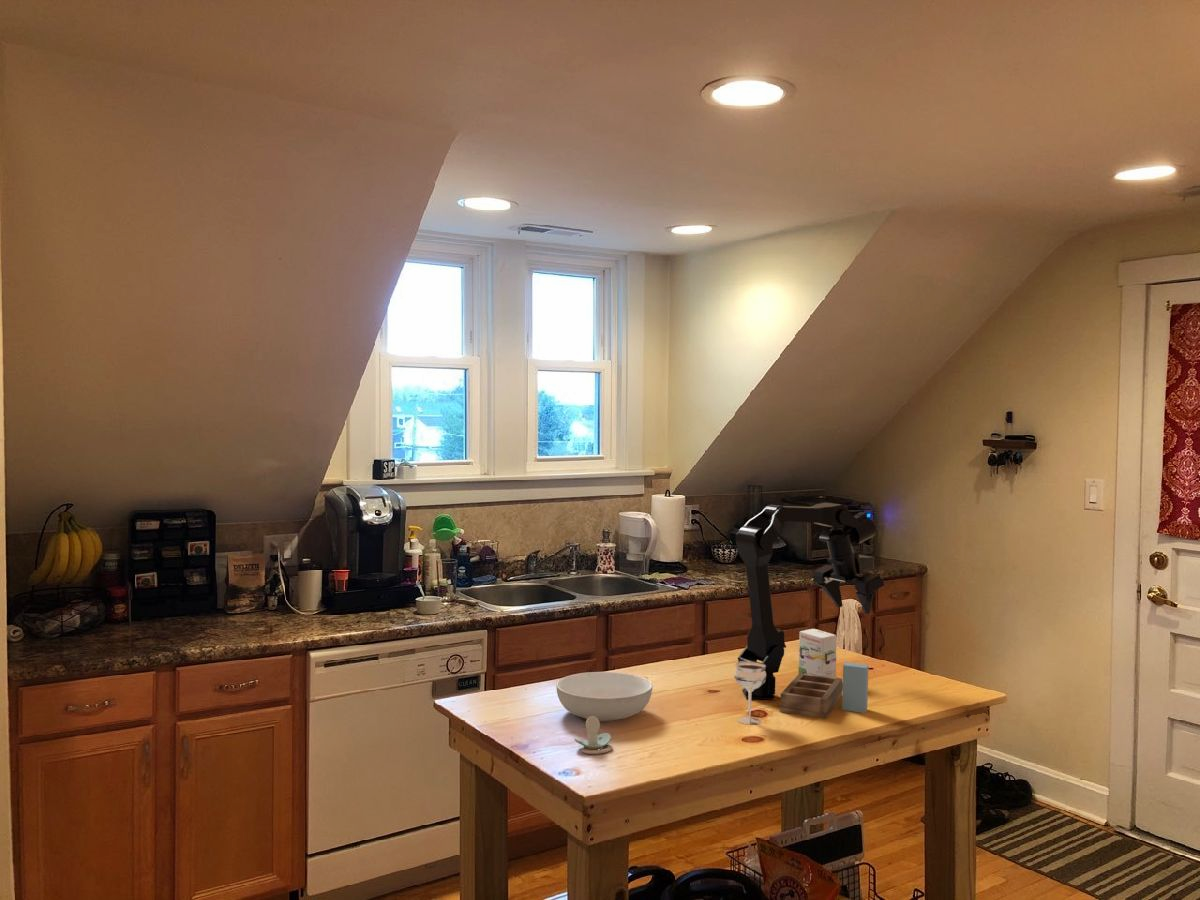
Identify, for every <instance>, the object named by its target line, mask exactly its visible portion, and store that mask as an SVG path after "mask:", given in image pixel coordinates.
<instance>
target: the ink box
mask: <svg viewBox="0 0 1200 900" xmlns="http://www.w3.org/2000/svg"><path fill="white" fill-rule="evenodd" d="M798 635H799V637H798V638H799V639H798V640H799V641H798V644H799V645H798V647H799V648H798V671H797V672H798V674H799V673H803V674H811V675H819V676H827V677H835V678H837V675H836V674H837V646H838V645H837V641H838V639H837V635H836V634H834V633H831V632H827V631H824V630H820V629H816V628H811V629H810V628H809V629H805V630H801V631H799V634H798ZM798 674H797V675H798Z"/></svg>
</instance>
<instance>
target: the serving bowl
mask: <svg viewBox="0 0 1200 900" xmlns="http://www.w3.org/2000/svg"><path fill="white" fill-rule="evenodd" d="M555 686H556V687H555V688H556V694H557V698H558V700H559V702H560V704H561V705H562V706H563V708H564V709H565V710H566V711H568V712H569V713H571V714H573V715H575V716H577V717H580V718H583V719H586V720H587V719H588V718H589V717H591V716H595V717H597V718H598V720H599V722H612V721H613V720H614V721H617V720H618V719H619V720H623V719H626V718H630V717H632V716H634V715H637V714H638V713H641V712H642V711H643V710H644V709H645V708H646V707H647V706H648V704H649V702H650V700H651V698H652V693H653V688H654V687H653V683H652V682H651V681H650V680H649V679H648V678H645V677H643V676H639V675H635V674H630V673H624V672H619V671H618V672H614V671H594V672H593V671H592V672H591V671H590V672H589V671H587V672H580V673H576V674H575V673H574V674H571V675H567V676H564V677H561V678H560V679H558V680H557V682H556V685H555ZM614 721H613V722H614Z"/></svg>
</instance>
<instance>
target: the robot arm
mask: <svg viewBox="0 0 1200 900" xmlns="http://www.w3.org/2000/svg"><path fill="white" fill-rule="evenodd" d="M785 523H802V524H803V523H807V524H808V523H809V524H811V523H813V524H815V525H819V526H824V527H830V528H831V529H829V530H827V529H823V531H822V533H821V534H820V536H819V538H818V540H819V541H822V542H826V544H827V548H828V549H827V550H828V553H829V557H828V558H826V560H827V564H824V565H823V566H821V567H819V568H817V569H816V570H814V571H813V573H812V579H813V583H814V584H815V583H816V584H817V585H818V586H819V587H821V589H822V590H823V591H824V592H825V593H826V594H827V595H828V597H830V599H831V600H832V601H833V603H834V604H835V605H836V606H837V607H838V608H842V607H843V598H842V593H841V585H840V584H841V582H844V583H848V584H853V585H854V589H855V590H856V592H855V594H856V597H857V599H858V601H859V604H860V605H861V607H862V610H863V612H864V613H865V615H870V613H871V610H872V603H873V597H874V595H875V592H876V591H878V590H879V589H881V588H882V587H884V586H885V583H884V578H883V575H880V574H875V573H871V572H868V573H866V574H864V575H862V576H859V574H863V573H864V572H865V570H870V571H873V570H874V568H875V567H874V566H875V564H874V563H875V556H870V555H865V554H859V553H858V552H857V550H854V548H853V546H858V545H860V544H861V543H863V542H865V541H867V540H869V539H872V538H873V537H874V536H875V535H876V533H877V527H876V525H875V523H874V522H873V520H872V519H871V518H870V517H868V514H867V512H861V511H860V512H858V513H856V514H855V515H853V514H852V513H851V512H850V511H849V508H848V506H847V505H845V504H839V503H833V502H832V503H831V502H822V503H816V504H814V505H812V506H796V505H795V506H792V505H791V506H789V505H778V504H777V505H776V504H768V505H766V506H765V507H764V508H763V509H762V511H761V512H759V513H757V514H756V515H755V516H754V517H752V518H750V519H749V520H748V521H747V522H746V523H745V524H744V525H743V526H742V527H740V529H738V531H737V532H736V533H735V543H736V544H735V545H736V548H737V552H738V555H739V556H740V558H741V559H742V561H743V563H744V565H745V568H746V577H747V578H746V579H747V586H748V587H747V588H748V595H749V605H750V614H751V615H750V616H751V628H750V629H749V631H748V634H747V638H746V639H747V643H746V644H747V645H746V646H745V647H744V648H743V650H742V652H741V653H740V654H739V655H738V657H737V662H740V661H756V662H761V663H764V664H765V665H766V668H765V671H766V680H765V682H764V684H763V685H761V686H760V687H759V688H757V689H754V691H753V692H752V699H751V700H775V694H776V678H777V677H775V673H776V674H777V673H779V671H780V667H781V664H782V660H783V657H784V656H785V649H787V645H786V644H785V632H784V630H782V629H779V628H776V625H775V623H774V614H773V606H772V605H773V604H772V595H771V594H772V593H771V585H770V574H769V563H770V560H771V558H772V556H773V554H774V553H773V552H774V543H775V541H776V540H777V539H778V538H779V537H780V535H781V531H782V527H783V525H784V524H785ZM768 525H769V526H768ZM767 526H768V527H767ZM765 527H767V528H765ZM741 691H742V694H743V696H744V697H745V699H747V700H748V691H747V690H746V689H745V688H742V690H741Z"/></svg>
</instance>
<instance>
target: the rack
mask: <svg viewBox="0 0 1200 900" xmlns="http://www.w3.org/2000/svg"><path fill="white" fill-rule="evenodd" d="M842 692H843V677H842V678H840V677H836V678H835V677H827V676H819V675H811V674H803V673H799V674H797V675H796V676H795V677H794V678H793V679H792V680H791V682H790V683H789V684H788V685H787V686H786V687H785V688H784V689H783V690H782V692H780V698H779V699H780V701H779V702H780V703H779V705H780V707H779V713H783V714H784V713H786V714H792V715H796V716H797V715H798V716H807V717H811V718H812V717H813V718H819V719H827V718H828V716H829V715H830V713H831V712H832V711H833V709H834V708H835V706H836V705H837V703H838V702H839V700H840V699H841V697H842Z"/></svg>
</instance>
